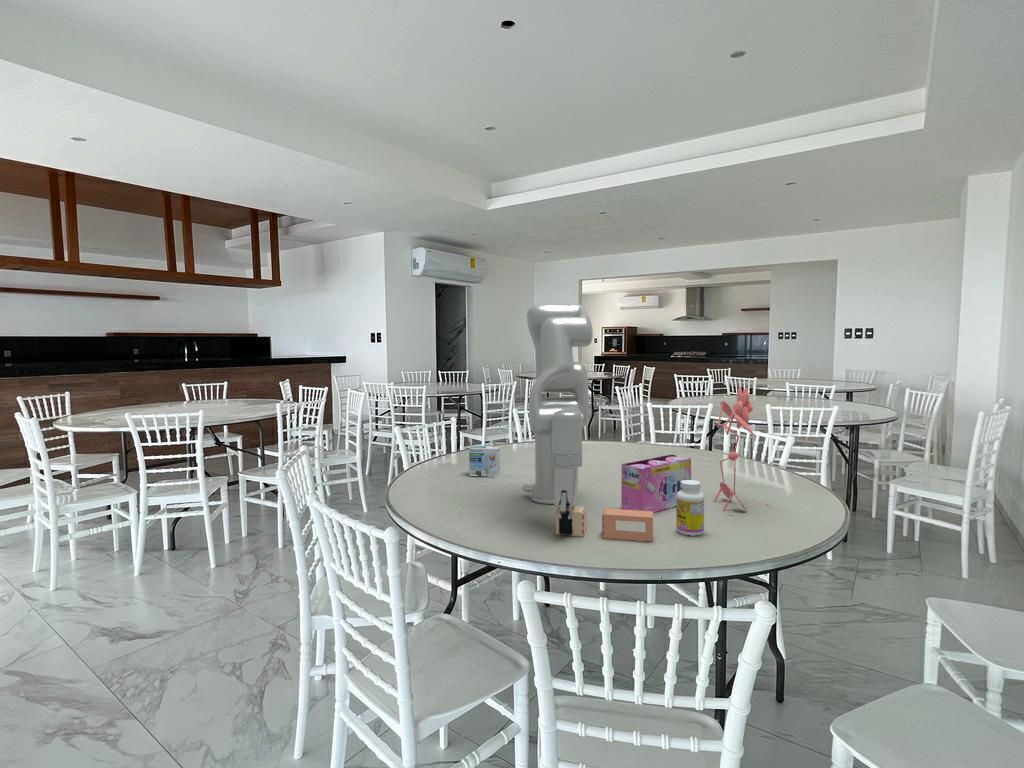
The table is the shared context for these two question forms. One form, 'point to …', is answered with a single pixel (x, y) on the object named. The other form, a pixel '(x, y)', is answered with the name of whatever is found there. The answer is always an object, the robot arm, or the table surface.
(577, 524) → the beige boxy piece
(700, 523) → the supplement bottle
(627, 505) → the gum box
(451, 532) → the table surface
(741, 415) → the figurine
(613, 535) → the cardboard box
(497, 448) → the light bulb box
